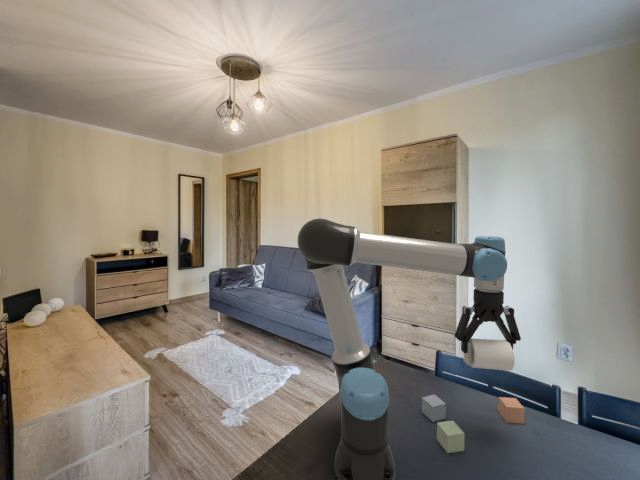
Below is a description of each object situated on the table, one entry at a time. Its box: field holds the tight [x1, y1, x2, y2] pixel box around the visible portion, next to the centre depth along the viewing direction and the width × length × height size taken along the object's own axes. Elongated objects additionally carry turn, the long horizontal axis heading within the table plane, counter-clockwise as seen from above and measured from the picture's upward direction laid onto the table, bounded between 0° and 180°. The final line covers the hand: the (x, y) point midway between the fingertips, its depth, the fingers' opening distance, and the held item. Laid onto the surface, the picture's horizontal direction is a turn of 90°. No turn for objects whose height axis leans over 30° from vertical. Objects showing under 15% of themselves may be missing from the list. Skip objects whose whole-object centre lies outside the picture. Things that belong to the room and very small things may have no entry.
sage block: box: [436, 420, 466, 454], centre depth 78 cm, size 5×5×5 cm
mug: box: [469, 337, 516, 372], centre depth 82 cm, size 12×10×8 cm
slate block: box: [421, 394, 447, 423], centre depth 89 cm, size 5×5×5 cm
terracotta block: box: [498, 396, 526, 425], centre depth 88 cm, size 5×5×5 cm
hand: (486, 363), depth 82 cm, fingers closed on mug, 11 cm apart
